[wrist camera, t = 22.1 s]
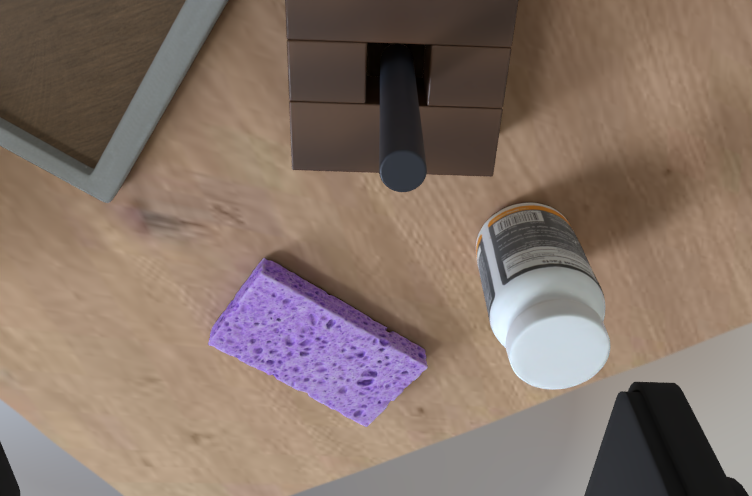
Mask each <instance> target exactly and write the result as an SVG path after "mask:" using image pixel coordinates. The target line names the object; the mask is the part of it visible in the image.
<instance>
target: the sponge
mask: <svg viewBox="0 0 752 496" xmlns="http://www.w3.org/2000/svg"><path fill="white" fill-rule="evenodd" d="M386 330H387V327H385V326H383V325H381V324H380V323H378V322H376V321H373V320H372V319H371V318H370V317H368V316H367V315H365V314H363V313H362V312H360V311H358V310H356V309H355V308H353V307H352V306H350V305H348V304H346V303H345V302H343V301H341V300H339V299H338V298H336V297H334V296H332V295H328V294H327V293H326V292H325V291H323V290H322V289H319V288H318V287H316V286H315V285H313V284H310V283H309V282H308V281H306V280H303V279H302V278H300V277H299V276H297V275H296V274H295V273H292V272H290V271H288V270H287V269H286V268H283V267H282V266H281V265H279V264H277V263H275V262H273V261H268V260H266V259H265V258H263V259H262V260H261V262H260V263H259V264H258V266H257V267H256V268H255V269H254V270H253V272H252V274H251V275H250V277H249V278H248V279H247V281H246V282H245V283H244V284H243V285H242V287H241V288H240V290H239V291H238V292H237V294H236V296H235V298H234V300H232V301H231V303H230V304H229V305H228V306H227V309H226V310H225V311H224V312H223V313H222V315H221V316H220V317H219V319H218V320H217V321H216V323H215V324H214V325H213V328H212V330H211V333H210V338H209V343H208V345H211V346H214V347H215V348H216V349H218V350H220V351H222V352H224V353H227V354H229V355H230V356H234V357H237V358H238V359H239V360H240V361H243V362H244V363H246V364H248V365H250V366H252V367H255V368H257V369H258V370H261V371H264V372H266V373H267V374H268V375H274V376H275V377H276V379H278V380H280V381H282V382H283V383H286V384H287V385H289V386H291V387H293V388H294V389H296V390H298V391H304V392H307V393H308V394H309V397H312V398H313V399H315V400H317V401H318V402H320V403H322V404H325V405H326V406H328V407H329V408H331V409H335V410H337V411H338V412H340V413H341V414H342V415H344V416H346V417H347V418H350V419H352V420H354V421H355V422H357V423H359V424H362V425H363V426H365V427H367V426H368V425H369V424H370V423H371V422H372V421H373V420H374V419H375V418H376V417H377V416H379V415H380V414H381V413H382V412H383V411H384V410H385V409H386V408H387V406H388V403H389V402H390V401H391V400H392V401H394V400H395V399H396V397H397V396H398V395H399V394H401V393H402V392H403V390H404V388H405V387H407V386H408V385H409V384H411V382H412V381H413V380H416V379H417V378H418V377H419V376H420V375H421V373H422V372H423V371H425V370H426V369H427V368H428V365H427V362H426V360H425V359H426V355H425V350H424V349H423V348H422V347H420V346H418V345H417V344H415V343H412V342H410V341H409V340H408V339H406V338H404V337H402V336H400V335H399V334H398V333H396V332H394V331H392V332H390V333H389V332H387V331H386Z"/></svg>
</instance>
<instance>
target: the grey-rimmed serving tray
mask: <svg viewBox="0 0 752 496" xmlns="http://www.w3.org/2000/svg"><path fill="white" fill-rule="evenodd" d="M227 2H228V0H0V146H2V147H3V148H5V149H7V150H9V151H11V152H13V153H14V154H16V155H18V156H20V157H22V158H24V159H25V160H27V161H29V162H31V163H33V164H35V165H36V166H38V167H40V168H42V169H44V170H46V171H47V172H49V173H51V174H53V175H55V176H57V177H58V178H60V179H62V180H64V181H66V182H68V183H69V184H71V185H73V186H75V187H77V188H79V189H80V190H82V191H84V192H86V193H88V194H90V195H91V196H93V197H95V198H97V199H99V200H101V201H103V202H105V203H109V202H111V201H112V199H113V198H114V197H115V195H116V194H117V193H118V191H119V189H120V188H121V186H122V184H123V183H124V181H125V179H126V177H127V176H128V174H129V172H130V170H131V169H132V167H133V165H134V163H135V162H136V160H137V158H138V156H139V155H140V153H141V151H142V150H143V148H144V146H145V144H146V143H147V141H148V139H149V137H150V136H151V134H152V132H153V130H154V129H155V127H156V125H157V123H158V122H159V120H160V118H161V117H162V115H163V113H164V111H165V110H166V108H167V106H168V104H169V103H170V101H171V99H172V97H173V96H174V94H175V92H176V91H177V89H178V87H179V85H180V84H181V82H182V80H183V78H184V77H185V75H186V73H187V71H188V70H189V68H190V66H191V64H192V63H193V61H194V59H195V58H196V56H197V54H198V52H199V51H200V49H201V47H202V45H203V44H204V42H205V40H206V38H207V37H208V35H209V33H210V31H211V30H212V28H213V26H214V25H215V23H216V21H217V19H218V18H219V16H220V14H221V12H222V11H223V9H224V7H225V5H226V4H227Z"/></svg>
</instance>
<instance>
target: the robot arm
mask: <svg viewBox="0 0 752 496" xmlns="http://www.w3.org/2000/svg"><path fill="white" fill-rule="evenodd" d="M0 496H20V489H19V486H18V484H17V481H16V479H15V476H14V474H13V471H12V469H11V466H10V464H9V462H8V459H7V457H6V454H5V452H4V450H3V447H2V445H1V442H0ZM584 496H749V495H748V494H747V492H746V491H745V489H744V488H743V486H742V485H741V484H740V483H739V482H737V481H736V480H735V479H734V478H730V477H726V475H725V473H724V471H723V469H722V467H721V465H720V463H719V461H718V459H717V457H716V455H715V453H714V451H713V450H712V448H711V446H710V444H709V442H708V440H707V438H706V436H705V434H704V432H703V430H702V428H701V426H700V424H699V422H698V421H697V419H696V417H695V415H694V413H693V411H692V409H691V407H690V405H689V403H688V401H687V399H686V397H685V395H684V393H683V392H682V390H681V388H680V387H679V386H678V385H676V384H675V383H657V382H634V383H633V384H632V385H631V386H630V388H629V390H628V392H620V393H618V395H617V398H616V401H615V404H614V407H613V410H612V413H611V416H610V419H609V422H608V425H607V428H606V431H605V434H604V437H603V440H602V443H601V446H600V450H599V453H598V456H597V459H596V462H595V465H594V468H593V471H592V474H591V477H590V480H589V483H588V486H587V489H586V492H585V495H584Z"/></svg>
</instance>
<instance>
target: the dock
mask: <svg viewBox="0 0 752 496" xmlns="http://www.w3.org/2000/svg"><path fill="white" fill-rule="evenodd" d="M285 6H286V31H287V39H288V40H287V55H288V80H289V99H290V102H289V106H290V131H291V156H292V169H293V170H313V171H343V172H373V173H379V143H380V76H367V67H368V42H375V43H403V44H425V50H424V64H423V77H415V78H416V86H417V94H418V102H419V110H420V118H421V126H422V134H423V142H424V150H425V158H426V166H427V174H433V175H463V176H493V172H494V165H495V158H496V151H497V144H498V138H499V131H500V124H501V117H502V107H503V102H504V96H505V89H506V82H507V75H508V68H509V61H510V54H511V46H512V41H513V34H514V27H515V20H516V13H517V7H518V0H285Z"/></svg>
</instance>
